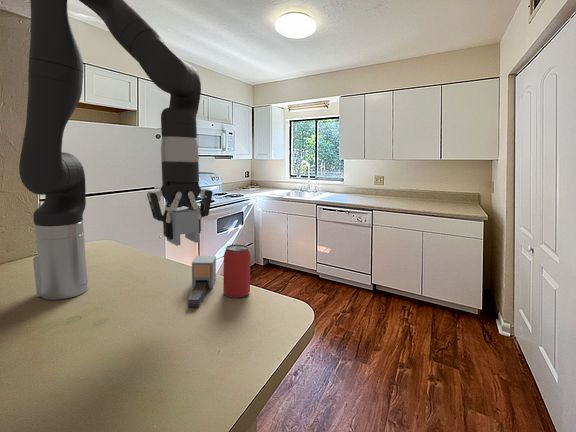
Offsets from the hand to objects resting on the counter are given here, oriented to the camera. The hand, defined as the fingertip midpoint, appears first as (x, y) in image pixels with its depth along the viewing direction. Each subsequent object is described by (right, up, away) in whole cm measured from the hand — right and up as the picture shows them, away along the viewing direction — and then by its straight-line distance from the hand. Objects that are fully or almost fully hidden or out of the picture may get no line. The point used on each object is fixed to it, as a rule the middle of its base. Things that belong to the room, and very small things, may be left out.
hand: (182, 236), depth 70 cm
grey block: (0, -1, 0) cm, 1 cm away
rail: (+1, -15, +9) cm, 17 cm away
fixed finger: (+1, -14, +14) cm, 20 cm away
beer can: (+10, -15, +10) cm, 21 cm away
